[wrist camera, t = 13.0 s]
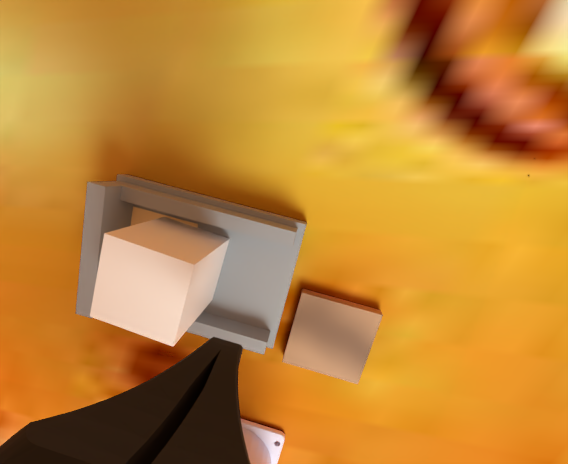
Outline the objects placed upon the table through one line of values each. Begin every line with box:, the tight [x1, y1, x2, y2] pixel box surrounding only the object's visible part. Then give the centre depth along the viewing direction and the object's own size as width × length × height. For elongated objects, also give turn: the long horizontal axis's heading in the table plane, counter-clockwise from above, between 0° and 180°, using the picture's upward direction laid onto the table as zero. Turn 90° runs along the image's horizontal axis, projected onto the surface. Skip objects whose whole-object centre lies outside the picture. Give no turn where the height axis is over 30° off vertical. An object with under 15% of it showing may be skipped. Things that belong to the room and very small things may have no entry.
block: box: [90, 217, 229, 347], centre depth 18 cm, size 5×5×6 cm
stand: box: [282, 288, 383, 384], centre depth 22 cm, size 6×6×1 cm
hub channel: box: [76, 174, 307, 355], centre depth 20 cm, size 10×14×4 cm
